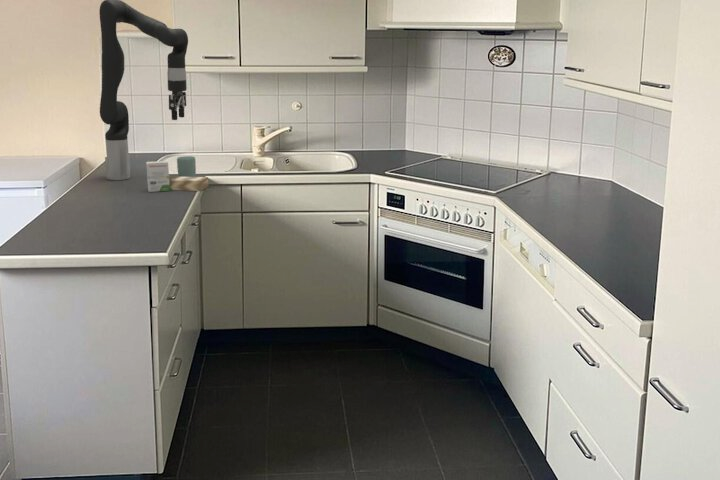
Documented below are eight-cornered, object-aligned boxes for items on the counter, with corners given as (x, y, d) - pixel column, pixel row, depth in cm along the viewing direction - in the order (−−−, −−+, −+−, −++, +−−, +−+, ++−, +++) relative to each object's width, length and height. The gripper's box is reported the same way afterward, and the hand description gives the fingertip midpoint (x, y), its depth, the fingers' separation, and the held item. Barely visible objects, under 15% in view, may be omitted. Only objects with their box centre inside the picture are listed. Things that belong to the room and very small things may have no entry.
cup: (194, 182, 365) (193, 159, 363) (176, 182, 365) (174, 159, 363) (198, 178, 373) (196, 156, 370) (180, 178, 373) (179, 156, 370)
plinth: (170, 189, 349) (170, 180, 348) (178, 185, 358) (178, 176, 357) (201, 190, 347) (200, 180, 346) (208, 186, 356) (208, 176, 355)
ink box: (169, 188, 352) (167, 160, 349) (170, 191, 348) (168, 162, 345) (147, 189, 350) (145, 161, 347) (148, 192, 345) (146, 163, 342)
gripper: (174, 77, 357) (175, 116, 361) (161, 80, 343) (163, 120, 348) (191, 77, 356) (192, 116, 360) (179, 80, 342) (181, 121, 347)
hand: (178, 118), depth 354 cm, fingers open, 8 cm apart
